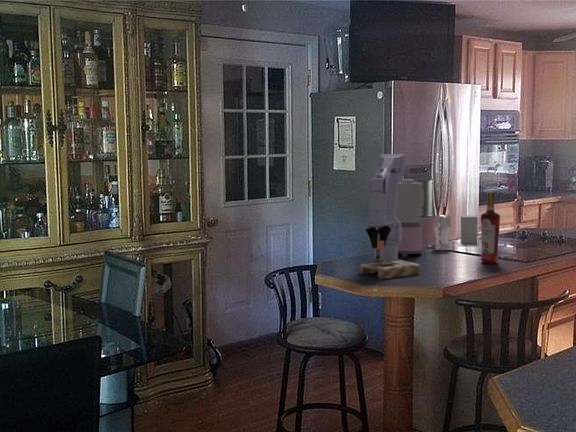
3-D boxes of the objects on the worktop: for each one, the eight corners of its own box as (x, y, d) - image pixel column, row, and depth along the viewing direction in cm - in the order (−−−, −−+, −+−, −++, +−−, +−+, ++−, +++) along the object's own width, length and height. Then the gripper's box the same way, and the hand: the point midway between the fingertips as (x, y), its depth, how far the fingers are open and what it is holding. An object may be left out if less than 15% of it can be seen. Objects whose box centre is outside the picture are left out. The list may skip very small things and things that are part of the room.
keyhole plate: (380, 279, 251) (380, 269, 250) (360, 273, 261) (360, 264, 261) (419, 274, 259) (419, 264, 259) (399, 268, 270) (399, 259, 269)
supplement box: (476, 241, 335) (476, 215, 334) (477, 243, 328) (477, 216, 326) (460, 241, 337) (460, 214, 335) (461, 243, 329) (461, 216, 328)
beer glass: (452, 250, 310) (452, 216, 308) (436, 250, 310) (436, 216, 309) (448, 248, 317) (449, 214, 315) (433, 248, 317) (433, 215, 315)
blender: (407, 257, 293) (407, 180, 290) (387, 254, 303) (387, 179, 300) (433, 253, 302) (434, 179, 298) (413, 250, 312) (414, 177, 308)
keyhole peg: (370, 260, 261) (370, 239, 260) (379, 259, 263) (379, 239, 262) (376, 262, 258) (377, 241, 256) (385, 261, 259) (386, 240, 258)
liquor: (476, 263, 279) (477, 192, 276) (485, 260, 284) (486, 191, 281) (493, 265, 274) (495, 193, 271) (502, 262, 279) (503, 192, 276)
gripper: (368, 212, 251) (368, 250, 252) (401, 210, 258) (401, 247, 259) (357, 211, 257) (357, 247, 259) (389, 208, 264) (389, 244, 265)
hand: (378, 247), depth 259 cm, fingers closed on keyhole peg, 3 cm apart
